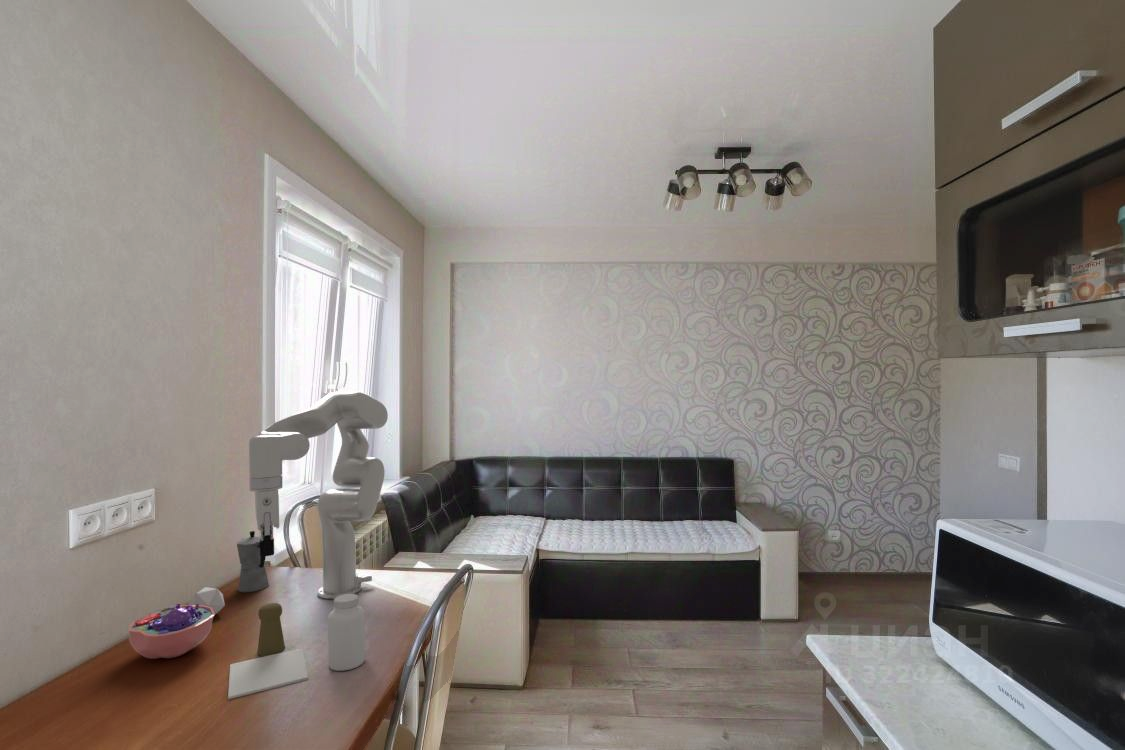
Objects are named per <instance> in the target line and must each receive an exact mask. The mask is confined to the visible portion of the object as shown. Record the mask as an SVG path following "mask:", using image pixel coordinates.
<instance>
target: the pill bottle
mask: <svg viewBox="0 0 1125 750" xmlns="http://www.w3.org/2000/svg"><path fill="white" fill-rule="evenodd" d="M365 620H366V619H365V611H364V609H363V607H362V606H360V605H359V595H358V594H357V593H355V594H344V595H340V596H338V597H336V598H335V599H333V609H332V610H331V611H330V612H329V613H328V617H327V655H328V656H327V658H328V660H327V661H328V667H329V669H330V670H332V671H336V672H338V671H339V672H341V671H348V670H353V669H355V668H358V667H359V666H361V665H363V663H364V662H365V660H366V630H365V628H366V627H365V625H366V623H365Z"/></svg>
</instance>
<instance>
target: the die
mask: <svg viewBox="0 0 1125 750" xmlns="http://www.w3.org/2000/svg"><path fill="white" fill-rule="evenodd" d="M196 604H199V605H202V606H207V607H210V608H212V609H213V611H214V613H215V615H216V614H218V613H219V612H220V611H221V610H222V609H223V608H224V607H225V606H226V604H225V599H224V593H222V592H221V591H220V590H219V589H218V588H214V587H207V586H204V588H202V589H201V590H199V591H198V592H196V593H195V594H194V595H193V596H192V597H191V598H190V600H189V601H188V605H196Z"/></svg>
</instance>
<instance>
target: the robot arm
mask: <svg viewBox="0 0 1125 750" xmlns="http://www.w3.org/2000/svg"><path fill="white" fill-rule="evenodd" d="M387 410H388V409H387V408H386V406H385V405H384V404H383V403H382V402H380V401H379V400H378V399H375V398H374V397H373V396H371V395H369V394H367V393H365V392H362V391H356V390H355V391H353V390H352V391H335V392H329V393H328V394H326V395H325V396H324V397H322V398H321V399H320V400H318V401H317V402H316V403H314V404H313V405H311V406H310V407H309V408H307V409H306V410H304V411H300V412H298V413H295V414H293V415H290V416H288V417H285V418H281V419H280V420H278V421H275V422H273V423H271V424H270V425H269V426H267V427H266V428H264V429H263V430H262V431H261V432H259V433H258V435H255V436H254V435H253V436H252V437H251V438H250V439H249V441H248V456H249V459H248V461H249V462H248V465H249V491H250V492H254V497H255V499H254V500H255V501H254V503H255V518H256V520H255V521H256V525H257V529H258V531H260V537H261V540H260V556H261V557H264V556H266V557H269V556H274V555H275V538H274V528H276V529H279V528H280V498H279V497H280V495H279V490H281V489H283V461H296V460H299V459H301V458H304V457H305V456H306V455H307V454H308V452H309V450H310V446H311V444H310V440H309V439H311V438H312V439H313V438H315V437H318V436H319V437H320V436H322V435H324V434H326V433H328V431H329V430H330V429H332V428H333V427H334V426H335V425H337V427H338V430H339V433H340V437H341V447H340V450H339V453H338V457H337V459H336V463H335V465H334V469H333V472H332V481H333V483H334V484H335V485H337V486H338V487H342V488H334V489H328V490H326V491H324V492H323V493H322V494H320V496H319V498H318V500H317V505H316V506H317V512H318V513H317V514H318V518H319V522H320V526H321V527H320V530H321V548H322V553H321V554H322V586H321V587H319V589H317V596H318V597H319V598H321V599H329V600H334V599H335V598H336V597H338V596H340V595H344V594H357V593H359V592H360V591H361V590H362V583H369V582H372V580H373V576H372V574H366V573H365V574H361V575H359V574H357V572H356V571H357V569H356V534H355V529H354V527H353V525H352V522H364V521H365V522H366V521H369V520H370V519H372V517H373V516H374V514H375V511H376V509H377V506H378V502H379V498H380V495H381V491H382V489H383V484H384V481H385V472H386V470H385V467H384V463H383V461H382V460H381V459H379V458H377V457H373V456H372V457H371V456H368V453H369V448H370V447H369V446H370V445H369V441H368V439H367V438H366V436H365V435H364V433H363V431H362V430H368V429H369V430H372V429H374V430H377V429H381V428H383V427H385V425H386V424H387V422H388V420H389V419H388V417H389V415H388V411H387ZM343 487H344V488H343ZM355 488H356V489H355ZM357 488H359V489H357Z"/></svg>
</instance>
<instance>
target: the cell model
mask: <svg viewBox="0 0 1125 750" xmlns="http://www.w3.org/2000/svg"><path fill="white" fill-rule="evenodd" d="M215 615H216V614H215V613H214V611H213V609H212V608H210V607H207V606H202V605H199V604H196V605H189V604H182V605H181V604H180V603H176V604H175V606H167V607H164V608H162V609H159V610H156V611H153V612H150V613H148V614H146V615H144V616H143V617H141V618H138V619H136V620H134V621H132V622H131V623H130V625H129V627H128V641H129V643H130V645H131V647H132V648H133V650H134V651H135V652H136V653H138V654H139V655H140V656H143V657H144V658H147V659H173V658H178V657H180V656H182V655H184V654H186V653H187V652H190V651H191V650H193V649H194V648H196V647H197V646H199V644H201V643H202V642H204V640H205V639H206V637H208V635H209V634H210V632H211V630H212V628H213V620H214V617H215Z"/></svg>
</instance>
